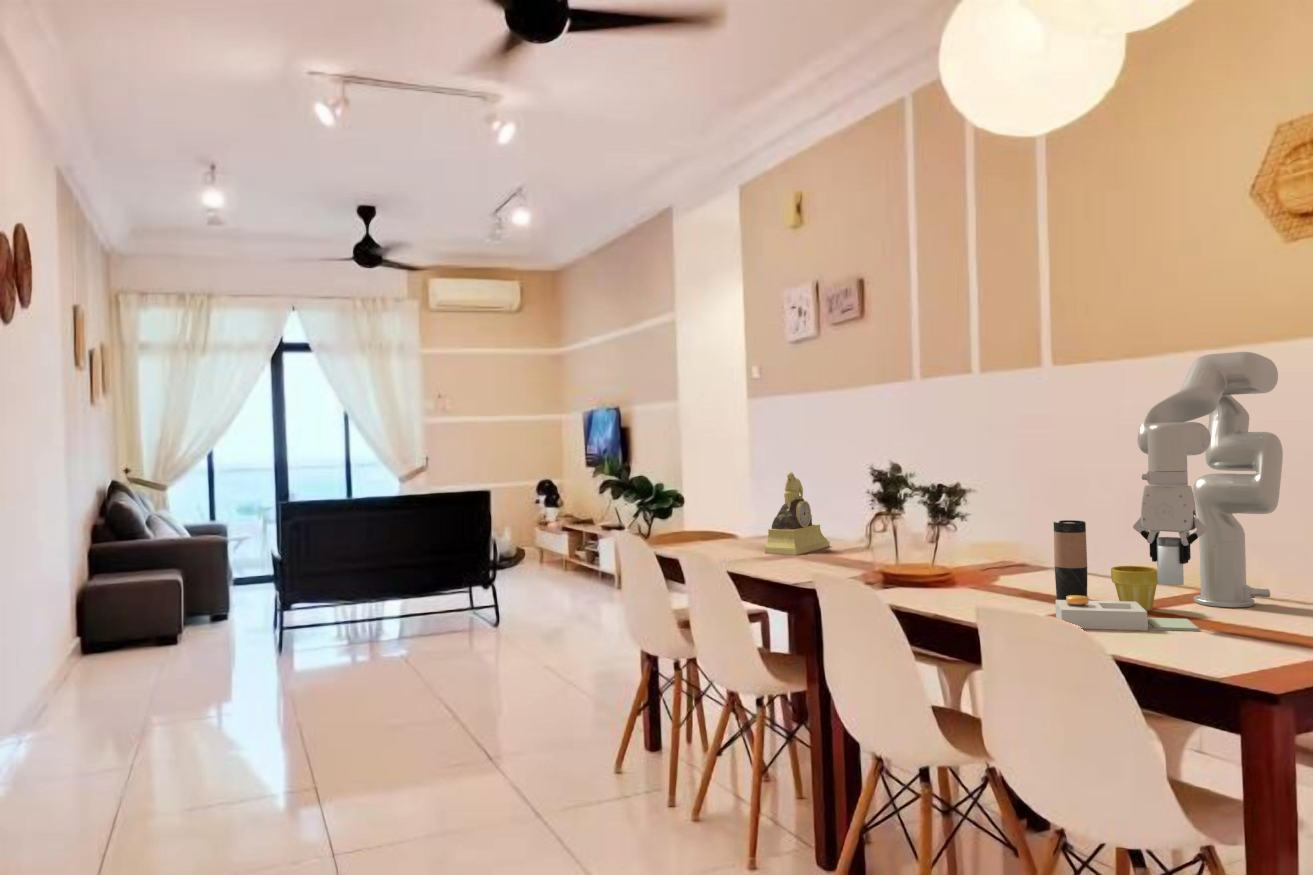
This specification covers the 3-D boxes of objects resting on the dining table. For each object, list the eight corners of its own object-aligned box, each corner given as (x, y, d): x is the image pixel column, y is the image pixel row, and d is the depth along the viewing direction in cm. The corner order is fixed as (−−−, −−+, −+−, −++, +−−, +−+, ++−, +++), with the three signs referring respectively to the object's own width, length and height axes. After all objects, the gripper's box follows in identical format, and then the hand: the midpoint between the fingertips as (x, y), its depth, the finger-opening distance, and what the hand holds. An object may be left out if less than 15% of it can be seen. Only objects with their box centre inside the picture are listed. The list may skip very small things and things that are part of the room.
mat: (1187, 621, 204) (1187, 618, 204) (1198, 630, 195) (1198, 628, 195) (1147, 620, 207) (1147, 617, 207) (1157, 629, 197) (1156, 626, 197)
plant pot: (1102, 607, 222) (1101, 567, 222) (1132, 603, 226) (1131, 563, 226) (1139, 614, 213) (1138, 573, 213) (1170, 610, 217) (1169, 569, 217)
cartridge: (1162, 581, 204) (1161, 536, 204) (1187, 583, 200) (1186, 537, 200) (1154, 583, 201) (1152, 538, 201) (1178, 586, 197) (1177, 539, 197)
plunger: (1087, 613, 208) (1087, 595, 208) (1090, 617, 204) (1089, 599, 204) (1065, 613, 209) (1065, 594, 209) (1068, 617, 205) (1067, 598, 205)
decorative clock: (795, 555, 332) (793, 473, 332) (764, 553, 340) (762, 473, 340) (829, 546, 355) (827, 469, 355) (800, 544, 363) (797, 469, 363)
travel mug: (1091, 602, 229) (1089, 523, 229) (1059, 602, 230) (1056, 523, 230) (1084, 597, 236) (1081, 519, 236) (1052, 597, 238) (1050, 520, 238)
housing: (1136, 619, 208) (1136, 601, 208) (1147, 630, 197) (1147, 611, 197) (1056, 616, 214) (1055, 599, 214) (1061, 627, 202) (1061, 609, 202)
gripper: (1120, 479, 204) (1122, 560, 204) (1205, 480, 192) (1207, 567, 192) (1133, 478, 209) (1135, 557, 209) (1217, 479, 197) (1219, 563, 197)
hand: (1170, 561), depth 201 cm, fingers closed on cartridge, 5 cm apart
